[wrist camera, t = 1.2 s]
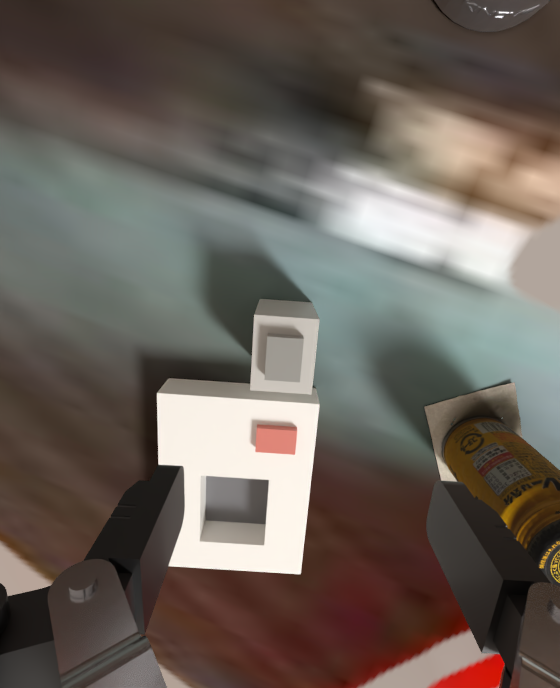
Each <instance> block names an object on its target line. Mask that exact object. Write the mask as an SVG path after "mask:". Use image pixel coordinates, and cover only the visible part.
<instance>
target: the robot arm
mask: <svg viewBox="0 0 560 688" xmlns="http://www.w3.org/2000/svg"><path fill="white" fill-rule="evenodd" d="M434 1H435V2H436V4H437V5H438V6H439V8H440V9H441V11H442V12H443V13H444V14H445V15H447V16H448V17H449V18H450V19H451V20H452V21H453V22H455V23H457V24H459V25H461V26H463V27H465V28H467V29H470V30H475V31H479V32H495V31H501V30H504V29H508V28H511V27H514V26H516V25H518V24H520V23H521V22H523V21H525V20H527V19H529V18H530V17H531V16H532V15H534V14H535V13H536V12H537V11H538V10H540V9H541V8H542V7H543V6H544V5H545V4H547V3H548V2H549V1H550V0H434ZM184 511H185V495H184V468H183V466H174V465H158V466H157V468H156V470H155V472H154V474H153V475H152V477H151V479H150V481H138V482H137V483H135V484H134V485H133V486H132V487H130V488H129V489H128V490H127V491H126V492H125V493H124V495H123V496H122V498H121V500H120V501H119V503H118V506H117V507H116V508H115V510H114V511H113V513H112V515H111V518H109V520H108V521H107V523H106V524H105V526H104V528H103V529H102V531H101V533H100V534H99V536H98V538H97V539H96V541H95V543H94V544H93V546H92V548H91V549H90V551H89V552H88V554H87V556H86V557H85V559H84V561H82V562H79V563H77V564H75V565H73V566H71V567H69V568H68V569H66V570H65V571H64V572H62V573H61V574H60V575H59V576H58V577H57V578H56V579H55V581H54V582H53V584H52V585H51V586H48V587H46V588H42V589H38V590H34V591H30V592H25V593H21V594H16V595H12V596H7V592H6V589H5V587H4V586H3V585H2V584H1V583H0V688H167V687H166V684H165V682H164V679H163V676H162V674H161V671H160V668H159V666H158V663H157V661H156V658H155V655H154V653H153V650H152V648H151V645H150V643H149V641H148V639H147V637H146V636H143V637H141V636H140V634H145V632H146V629H147V626H148V624H149V621H150V618H151V615H152V612H153V609H154V606H155V603H156V600H157V597H158V594H159V592H160V589H161V586H162V583H163V580H164V577H165V574H166V571H167V568H168V565H169V563H170V560H171V557H172V554H173V551H174V548H175V545H176V542H177V539H178V536H179V533H180V531H181V528H182V524H183V519H184ZM427 535H428V539H429V542H430V544H431V546H432V548H433V550H434V553H435V555H436V557H437V559H438V561H439V563H440V565H441V567H442V570H443V572H444V574H445V576H446V578H447V580H448V582H449V584H450V587H451V589H452V591H453V593H454V595H455V597H456V599H457V601H458V604H459V606H460V608H461V610H462V612H463V614H464V616H465V618H466V621H467V623H468V625H469V627H470V629H471V631H472V633H473V635H474V638H475V640H476V642H477V644H478V646H479V648H480V650H481V652H482V653H491V654H500V655H501V657H502V659H503V661H504V663H505V665H504V668H503V671H502V675H501V680H500V686H499V688H560V586H558V585H555V584H551V582H550V581H549V580H548V578H547V577H546V576H545V575H544V573H543V572H542V571H541V569H540V568H539V567H538V565H537V564H536V563H535V561H534V560H533V559H532V557H531V556H530V555H529V554H528V552H527V551H526V550H525V548H524V547H523V546H522V544H521V543H520V542H519V541H517V539H516V536H515V535H514V534H513V533H512V531H511V530H510V529H508V526H507V525H506V523H505V522H504V521H503V519H502V518H501V517H500V515H499V514H498V513H497V512H496V511H495V510H494V509H492V508H491V507H490V506H489V505H487V504H486V503H485V502H483V501H482V500H477V499H475V498H474V496H473V495H472V493H471V492H470V491H469V489H468V488H467V487H466V485H465V484H464V483H463V482H456V481H436V482H435V484H434V488H433V492H432V497H431V502H430V507H429V512H428V517H427Z"/></svg>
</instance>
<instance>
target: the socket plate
mask: <svg viewBox="0 0 560 688" xmlns="http://www.w3.org/2000/svg"><path fill="white" fill-rule="evenodd" d="M318 413H319V400H318V395H317V390H316V388H312V395H311V394H296V393H282V392H267V391H253V390H250V384H247V383H233V382H218V381H204V380H190V379H175V378H168V380H167V381H166V382H165V383H164V385H163V386H162V387H161V388H160V390H159V391H158V392H157V421H158V465H174V466H183V468H184V495H185V511H184V519H183V524H182V528H181V531H180V533H179V536H178V539H177V542H176V545H175V548H174V551H173V554H172V557H171V560H170V563H169V565H168V566H175V567H192V568H208V569H224V570H240V571H256V572H272V573H288V574H301V567H302V558H303V549H304V540H305V531H306V522H307V513H308V504H309V495H310V486H311V477H312V467H313V458H314V449H315V440H316V431H317V422H318Z"/></svg>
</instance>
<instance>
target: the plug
mask: <svg viewBox="0 0 560 688" xmlns="http://www.w3.org/2000/svg"><path fill="white" fill-rule="evenodd" d="M318 329H319V317H318V315H317V313H316V310H315V308H314V306H313V304H312V302H298V301H284V300H271V299H260V300H259V302H258V305H257V308H256V311H255V314H254V327H253V346H252V365H251V383H250V390H253V391H267V392H282V393H296V394H311V395H312V386H313V377H314V367H315V357H316V348H317V338H318Z"/></svg>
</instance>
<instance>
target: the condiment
mask: <svg viewBox="0 0 560 688" xmlns="http://www.w3.org/2000/svg"><path fill="white" fill-rule="evenodd" d="M424 408H425V412H426V416H427V421H428V425H429V429H430V433H431V437H432V442H433V447H434V451H435V456H436V460H437V464H438V469H439V473H440V477H441V481H456V482H463V483H464V484H465V485H466V487H467V488H468V489H469V491H470V492H471V493H472V495H473V496H474V498H475V499H477V500H482V501H483V502H485V503H486V504H487V505H489V506H490V507H491V508H492V509H494V510H495V511H496V512H497V513H498V514H499V515H500V517H501V518H502V519H503V521H504V522H505V523H506V525H507V526H508V529H510V530H511V531H512V533H513V534H514V535H515V536H516V539H517V541H519V542H520V543H521V544H522V546H523V547H524V548H525V550H526V551H527V552H528V554H529V555H530V556H531V557H532V559H533V560H534V561H535V563H536V564H537V565H538V567H539V568H540V569H541V571H542V572H543V573H544V575H545V576H546V577H547V578H548V580H549V581H550V582H551V584H555V585H558V586H560V470H559V469H557V468H556V467H555V466H554V465H553V464H552V463H551V462H549V461H548V460H547V459H546V458H545V457H543V456H542V455H541V454H540V453H539V452H538V451H537V450H535V449H534V448H533V447H532V446H531V445H529V444H528V443H527V442H526V441H525V440H524V439H522V433H521V425H520V416H519V409H518V405H517V395H516V389H515V383H510V384H506V385H500V386H497V387H493V388H489V389H486V390H481V391H477V392H474V393H470V394H467V395H462V396H458V397H456V398H453V399H450V400H445V401H441V402H438V403H436V404H432V405H428V406H425V407H424ZM502 417H503V419H501V418H502ZM454 418H456V419H455V421H453V419H454ZM451 423H453V425H451Z"/></svg>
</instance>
